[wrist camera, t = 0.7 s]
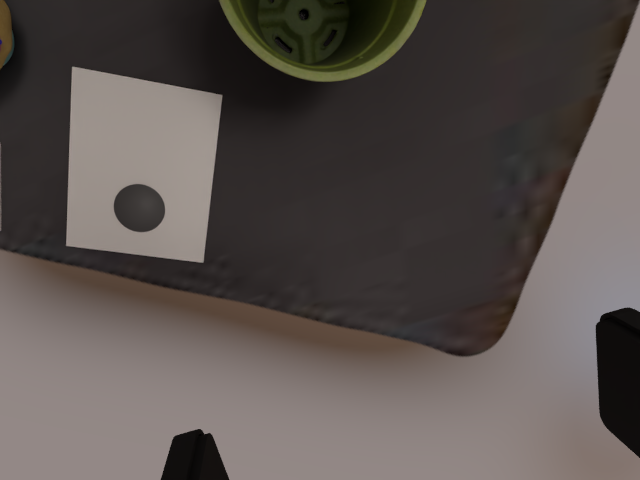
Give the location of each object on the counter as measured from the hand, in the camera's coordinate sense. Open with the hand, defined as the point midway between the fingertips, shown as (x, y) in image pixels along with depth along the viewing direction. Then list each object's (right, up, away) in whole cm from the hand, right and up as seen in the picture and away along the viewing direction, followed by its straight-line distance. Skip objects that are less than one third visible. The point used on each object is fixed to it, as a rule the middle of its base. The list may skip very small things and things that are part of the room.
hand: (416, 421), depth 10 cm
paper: (-17, +10, +24) cm, 31 cm away
